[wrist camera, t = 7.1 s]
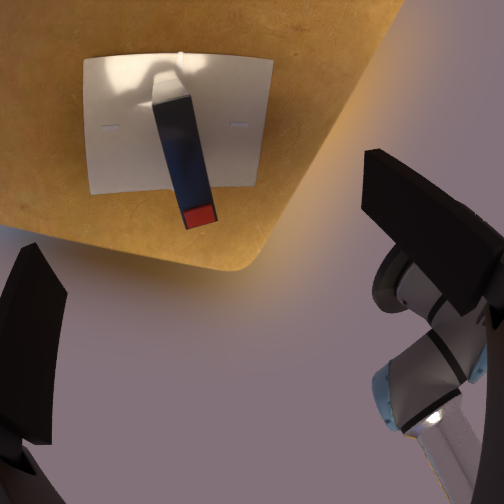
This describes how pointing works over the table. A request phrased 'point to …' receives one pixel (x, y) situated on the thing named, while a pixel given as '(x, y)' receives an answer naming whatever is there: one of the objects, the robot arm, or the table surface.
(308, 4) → the table surface
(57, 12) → the table surface
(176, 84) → the tap handle
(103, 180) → the plate
